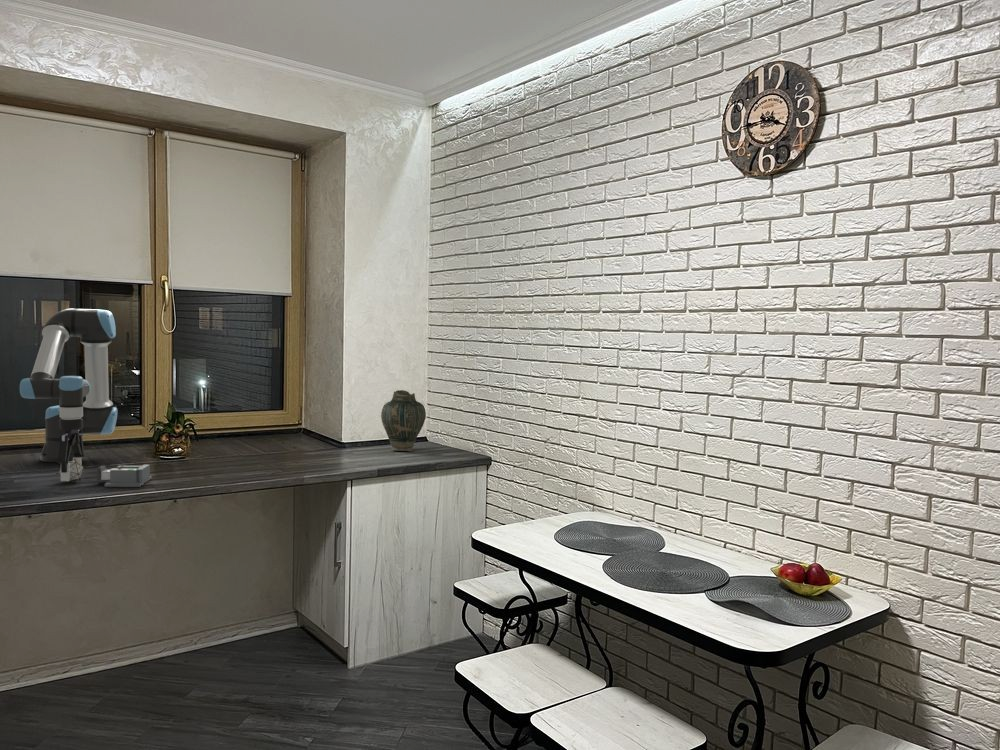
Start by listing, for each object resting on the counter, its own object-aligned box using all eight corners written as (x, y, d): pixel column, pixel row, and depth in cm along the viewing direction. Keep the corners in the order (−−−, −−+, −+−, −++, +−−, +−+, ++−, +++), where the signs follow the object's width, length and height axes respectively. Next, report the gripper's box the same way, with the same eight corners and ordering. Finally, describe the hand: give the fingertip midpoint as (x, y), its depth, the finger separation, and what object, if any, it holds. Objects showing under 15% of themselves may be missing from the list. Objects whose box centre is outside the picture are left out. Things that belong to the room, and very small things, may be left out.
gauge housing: (118, 478, 276) (118, 462, 276) (151, 478, 278) (151, 463, 278) (104, 486, 262) (104, 470, 262) (139, 486, 264) (139, 470, 264)
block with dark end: (101, 477, 271) (102, 463, 270) (128, 477, 272) (128, 463, 272) (94, 481, 264) (94, 467, 264) (121, 481, 265) (121, 467, 265)
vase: (379, 446, 371) (381, 388, 369) (422, 446, 375) (424, 389, 373) (380, 454, 349) (382, 392, 347) (426, 454, 354) (428, 393, 352)
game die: (65, 491, 266) (46, 471, 262) (76, 478, 274) (57, 459, 269) (85, 481, 264) (65, 461, 260) (95, 469, 272) (76, 449, 268)
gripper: (73, 413, 276) (73, 471, 278) (46, 422, 254) (46, 484, 256) (94, 414, 277) (94, 471, 279) (69, 422, 255) (69, 484, 257)
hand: (71, 477), depth 267 cm, fingers closed on game die, 10 cm apart
